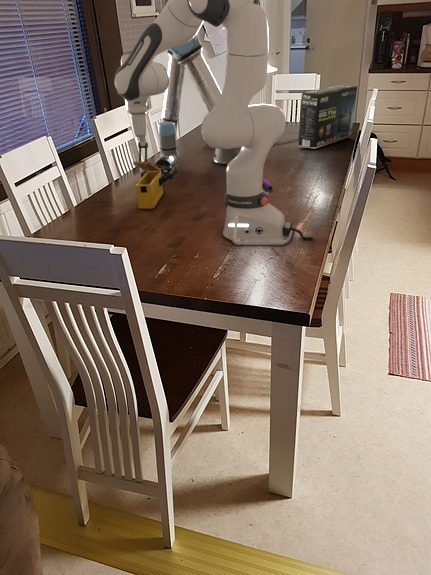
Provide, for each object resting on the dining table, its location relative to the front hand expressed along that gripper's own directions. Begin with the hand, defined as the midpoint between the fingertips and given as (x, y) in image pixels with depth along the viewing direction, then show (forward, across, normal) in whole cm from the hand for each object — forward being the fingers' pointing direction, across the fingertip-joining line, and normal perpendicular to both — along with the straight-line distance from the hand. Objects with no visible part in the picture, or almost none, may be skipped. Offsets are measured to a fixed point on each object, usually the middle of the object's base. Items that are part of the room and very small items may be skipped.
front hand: (143, 144), depth 166 cm
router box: (+22, -72, +92) cm, 119 cm away
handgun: (+22, -14, +44) cm, 52 cm away
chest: (+22, -3, 0) cm, 22 cm away
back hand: (+16, -6, +1) cm, 17 cm away
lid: (+9, -3, 0) cm, 10 cm away
